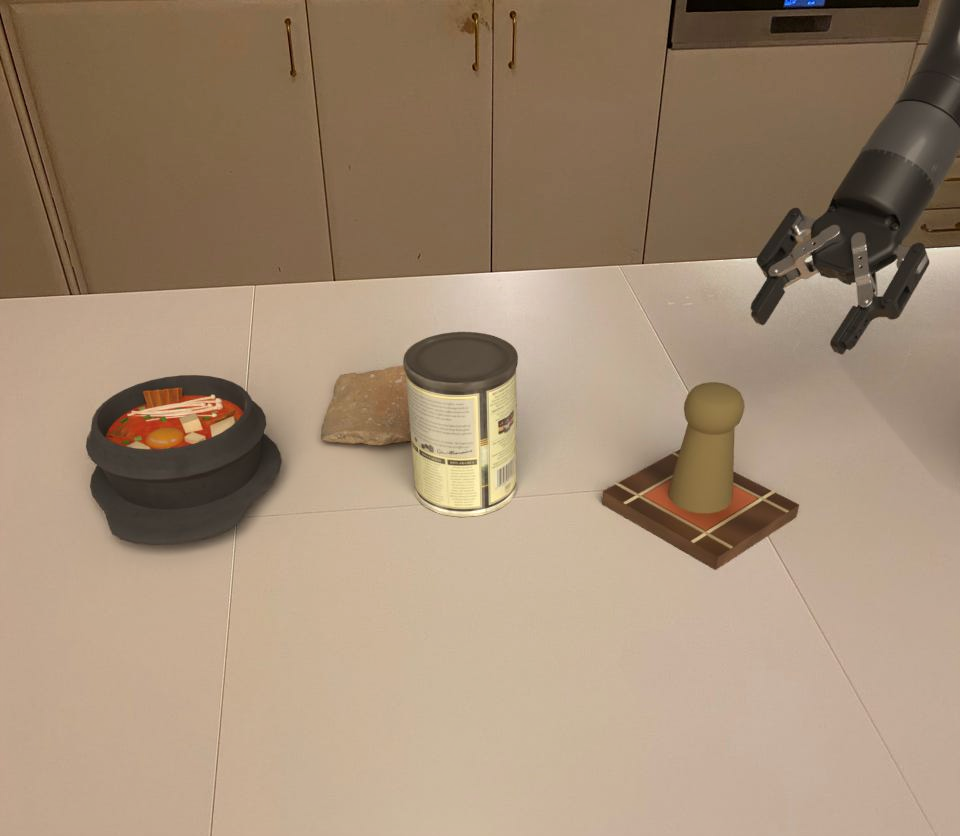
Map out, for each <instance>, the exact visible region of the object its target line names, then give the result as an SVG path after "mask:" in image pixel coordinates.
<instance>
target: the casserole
mask: <svg viewBox="0 0 960 836" xmlns="http://www.w3.org/2000/svg"><path fill="white" fill-rule="evenodd" d="M266 417H267V415H266V414H265V413H264V410H263V409H262V407H261V406H260V405H259V404H257V403H256V402H255V401H254V400H253V399H252V397H251V395H250V394H249V392H248V391H247V390H245V388H244V387H242V386H241V385H239V384H237V383H236V382H234V381H231V380H227V379H226V378H221V377H217V376H212V375H199V374H183V375H181V374H180V375H174V376H171V375H170V376H165V377H160V378H155V379H154V378H153V379H150V380H147V381H144V382H140V383H137V384H134V385H132V386H129V387H126V388H124V389H123V390H121V391H119V392H117V393H116V394H114V395H112V396H110V397H109V398H107V400H105V401H104V402H103V403H102V404H101V405H100V406H99V407H98V408H97V409H96V411H95V412H94V414H93V415H92V418H91V425H90V430H89V433H88V435H87V437H86V443H85V449H86V452H87V456H88V457H89V459H90V460H91V461H92V463H94V464H95V465H96V466H95V468H94V470H93V472H92V474H91V476H90V483H89V488H90V489H89V490H90V492H91V496H92V498H93V499H94V501H95V502H96V503H97V505H98V506H99V507H100V509H101V510H102V512H103V513H104V514H105V517H106V521H107V525H108V527H109V530H110V532H111V534H112V535H113V536H115V537H116V538H118V539H119V540H121V541H125V542H128V543H132V544H140V545H149V546H157V545H160V546H162V545H163V546H164V545H178V544H179V545H180V544H184V543H185V544H186V543H192V542H197V541H201V540H205V539H209V538H213V537H216V536H219V535H221V534H223V533H227V532H229V531H230V530H232V529H234V528H235V527H236V526H238V525H239V524H240V523H241V522H242V520H243V519H244V518H245V516H246V515H247V514H248V512H249V510H250V508H251V507H252V505H253V503H254V502H255V501H256V500H257V499H258V498H259V497H260V496H261V495H262V494H263V493H264V492H265V491H266V490H267V489H268V488H269V487H270V486H271V485H272V484H273V483H274V481H275V480H276V478H277V477H278V475H279V473H280V470H281V467H282V461H283V460H282V454H281V451H280V449H279V448H278V446H277V444H276V442H274V441H273V439H271V438H270V437H269V436H268V435H267V434H266V433H265V430H266V428H267V418H266Z"/></svg>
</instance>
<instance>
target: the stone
mask: <svg viewBox="0 0 960 836" xmlns="http://www.w3.org/2000/svg"><path fill="white" fill-rule="evenodd" d="M320 440H322V441H324V442H326V443H339V444H351V445H353V444H361V443H362V444H365V445H370V446H385V445H390V444H395V443H396V444H397V443H403V442H404V443H405V442H411V432H410V420H409V407H408V395H407V383H406V372H405V369H404V364H403V365H397V366H390V367H387V368H384V369H375V370H369V371H365V372H360V373H356V372H349V373H344V374H341V375H339V376H338V378H337V379H336V381H335V383H334V389H333V396H332V398H331V401H330V403H329V405H328V408H327V409H326V413H325V416H324V420H323V423H322V426H321V434H320Z"/></svg>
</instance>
